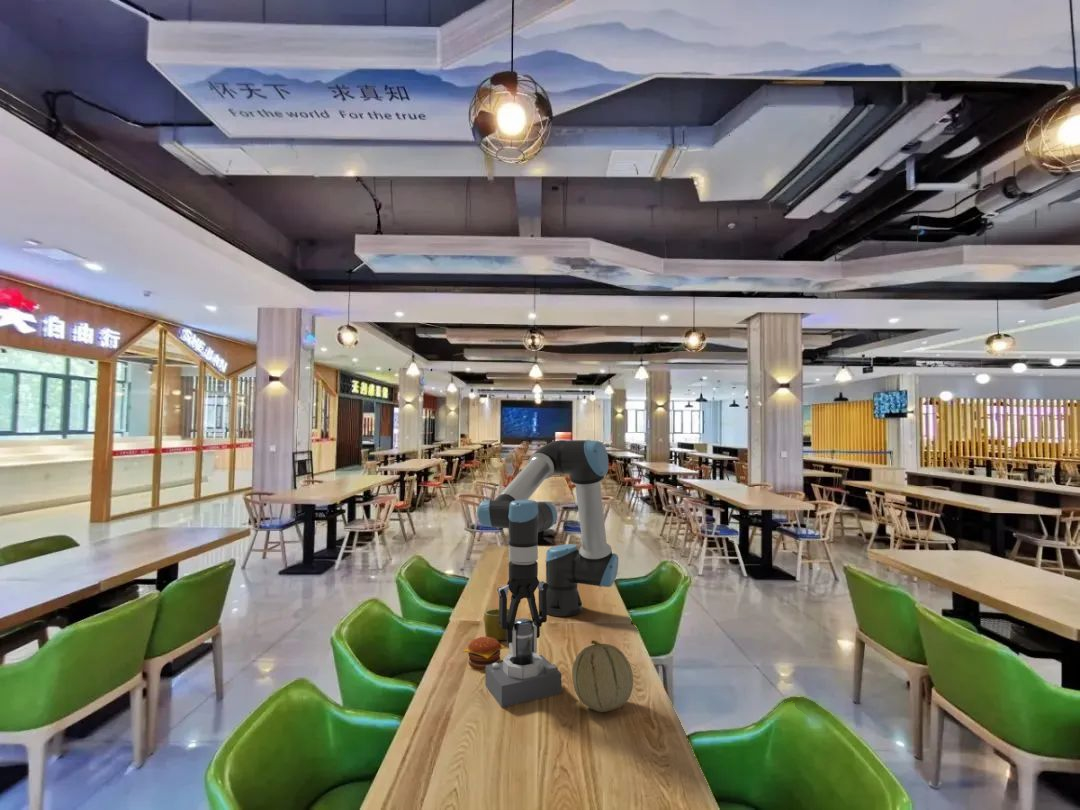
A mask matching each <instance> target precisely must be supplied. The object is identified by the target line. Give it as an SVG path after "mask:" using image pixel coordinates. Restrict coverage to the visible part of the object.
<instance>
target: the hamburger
mask: <svg viewBox="0 0 1080 810" xmlns="http://www.w3.org/2000/svg"><path fill="white" fill-rule="evenodd" d="M503 649H506V646H505V645H503V644H501V641H497V640H496V639H495V638H491V637H486V636H480V637H477V638H474V639H473V640H471V641H470V643H469V644H468V646H467V648H466V649H464V650H463V651H462V653H468V665H469V666H470V667H471V668H473V669H478V670H486V665H491V664H493V663H501V657H500V655H501V650H503Z"/></svg>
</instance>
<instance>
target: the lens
mask: <svg viewBox="0 0 1080 810" xmlns="http://www.w3.org/2000/svg"><path fill="white" fill-rule="evenodd" d="M513 628H514V629H515V630H516V657H513V663H514V664H516V665H522V666H523V665H528V664H532V663H533V621H532V619H529V618H518V619H515V623H514V627H513Z"/></svg>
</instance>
